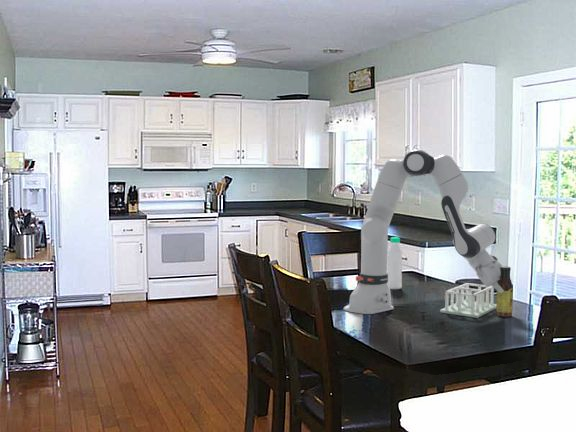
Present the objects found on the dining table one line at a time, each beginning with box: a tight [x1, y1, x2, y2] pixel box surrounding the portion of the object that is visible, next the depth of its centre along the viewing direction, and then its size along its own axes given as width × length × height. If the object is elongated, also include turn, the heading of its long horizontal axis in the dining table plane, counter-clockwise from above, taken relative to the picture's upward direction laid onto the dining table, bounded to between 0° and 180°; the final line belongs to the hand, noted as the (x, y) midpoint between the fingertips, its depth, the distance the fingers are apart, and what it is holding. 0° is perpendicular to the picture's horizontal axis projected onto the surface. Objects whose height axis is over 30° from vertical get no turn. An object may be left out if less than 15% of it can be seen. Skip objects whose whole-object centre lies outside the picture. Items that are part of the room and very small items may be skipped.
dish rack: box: [439, 282, 497, 319], centre depth 272 cm, size 25×16×9 cm, turn 143°
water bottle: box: [387, 236, 403, 290], centre depth 317 cm, size 7×7×25 cm
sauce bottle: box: [495, 265, 514, 318], centre depth 261 cm, size 7×6×20 cm
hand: (506, 290), depth 261 cm, fingers open, 7 cm apart
